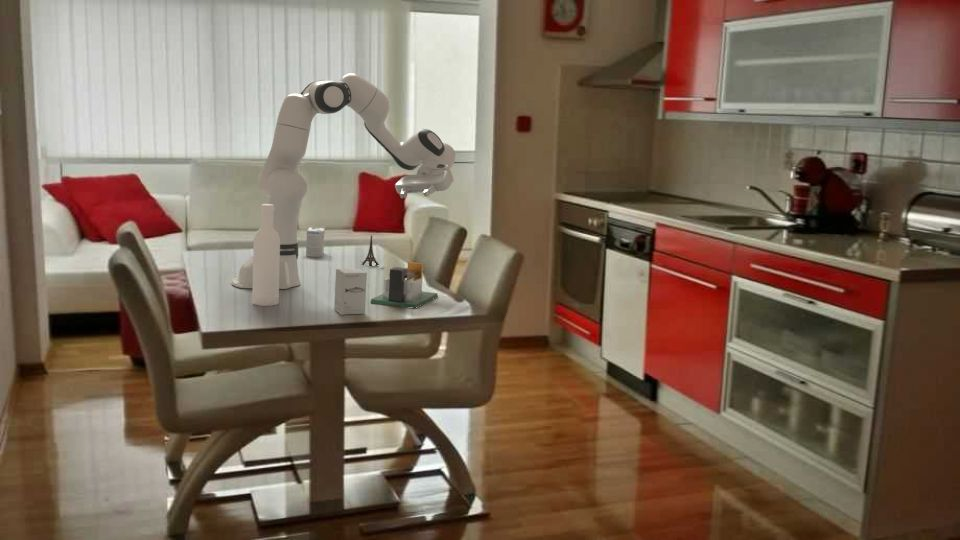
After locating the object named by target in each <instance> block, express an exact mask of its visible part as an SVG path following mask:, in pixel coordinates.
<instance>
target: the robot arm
mask: <svg viewBox="0 0 960 540" xmlns="http://www.w3.org/2000/svg"><path fill="white" fill-rule="evenodd" d="M346 106H347V107H348V108H350V109H351V110H353V111H354V112H355V113H357V114H358V116H360V118H362V120H363V122H364V123H363V125H364V127H365V129H366V131H367V132H368V133H369V134H370V136H372V137H373V139H375V141H376V142H377V143H378V144H379V145H380V146H381V147H382V148H383V149H384V150H385V151H386V152H387V153H388V154H389V155H390V156H391V157H392V159H393V160H394V162H395V163H396V164H397V166H398V167H399V168H402V169H404V170H405V171H414V170H415V169H416V168H417V167H419V166H420V167H419V168H418V169H417V172H416V174H407V175H404V176H402V177H401V178H400V179H399V180H398V181H397V182H396V183H395V184H394V188H395V190H396V193H397V194H399V196H400V199H405V198H407V196H408V195H407V194H415V193H416V194H420V193H423V196H424V197H430V195H432V194H434V193H435V192H441V191H443V192H444V191H446V190H448V189H449V188H450V186H451V185H452V183H453V182H454V176H453V173H452V171H451V168H452V167H453V165H454V163H455V161H456V152H455V149H454V148H453V147H452V145H450V144H449V143H445V142H443V141H442V139H441V138H440V137H439V136H438V134H436V132H434V131H432V130H430V129H428V128H421V129H420V130H419V131H417V132H415V133H414V134H412V136H411V137H409V138H408V139H406V140H405V141H401V140H398V139H397V138H396V136H394V135H393V133H391V131H390V130H389V129H388V128H387V127H386V125H385V123H386V119H387V117H388V114H389V111H390V101H389V98H388V97H387V95H386V94H385V93H384V91H382V90H381V89H379V88H378V87H377V86H375V85H374V84H373V83H372V82H370V81H369V80H367V79H365V78H364V77H361V76H360V75H358V74H356V73H353V72H350V73H349V72H348V73H347V74H345V75H343V76H342V77H341V78H340V79H339V80H337V81H336V80H331V79H329V80H326V79H321V80H316V81H313V82H310V83H309V84H307V85H306V87H304V89H303V90H302V91H301V93H291V94H288V95H286V96H285V97H284V99H283V102H282V103H281V106H280V109H279V112H278V115H277V119H276V125H275V129H274V133H273V139H272V144H271V148H270V150H269V153H268V155H267V158H266V160H265V163H264V166H263V169H262V170H261V172H260V173H259V174H258V176H257V180H256V181H257V188H258V189H259V191H260V192H261V193H262V194H263V195H264V196H265V197H266V198H268V199H269V203H268V204H272V205H274V221H273V228H274V229H275V230H276V231H277V232H278V234H279V238H280V264H279V290H280V289H281V290H287V289H290V288H294V287H297V286H301V279H300V276H299V268H298V258H299V243H298V221H299V215H300V211H301V206H302V203H303V199H304V197H305V196H306V194H307V192H308V183H307V181H306V179H305V178H304V177H303V176H302V175H301V174H300V173H299V172H297V170H298V167H299V165H300V163H301V161H302V159H303V158H304V157H305V155H306V151H307V148H308V142H309V137H310V133H311V126H312V121H313V120H314V117H315V116H316V115H317V114H321V115H330V114H336V113H338V112H340V111H341V110H342V109H344V108H345V107H346ZM231 285H233V286H234V287H236V288H240V289H253V256H251V257H250V258H248V259H247V260H245V261H244V262H243V263H242V264H241V265H240V267H239V271H238V277H234V278H232V279H231Z"/></svg>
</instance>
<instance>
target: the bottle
mask: <svg viewBox="0 0 960 540" xmlns="http://www.w3.org/2000/svg"><path fill="white" fill-rule="evenodd" d="M260 206H261V208H260V212H261V218H260V228H259V229H258V230H256V231H255V233H254V237H253V246H252V247H253V251H252V252H253V288H252V294H251V298H252V299H251V301H252V302H251V304H252V305H255V306H260V307H271V306H273V307H274V306H277V305H279V300H280V289H279V264H280V238H279V234H278V232H277V231H276V230H275V229H274V228H273V221H274V205H272V204H269V203H262V204H261V205H260Z"/></svg>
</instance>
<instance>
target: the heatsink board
mask: <svg viewBox="0 0 960 540" xmlns="http://www.w3.org/2000/svg"><path fill="white" fill-rule="evenodd" d="M407 272H408V268H407V267H400V266H395V267H393V268H390V269H389V277H387V278H385V279H384V280H383V291H382V294H379V295H377V296H375V297H373V298H371V299H370V303H371V304H377V305H386V306H392V305H393V306H394V307H400V306H404V307H403V308H408V307H413V308H412V309H417V308H416V307H418V306H419V307H421V306H423V305H425V304H427V303H429V302H430V300H431V301H433V300H434V299H436V298H437V297H438V295H439V294H438V293H437V292H430V291H423V278H422V279H421V278H420V279H417V280H415V281H414V278H412V277H411V278H409V279H407V278H404V276H405V275H407ZM435 297H436V298H435ZM433 298H434V299H433ZM428 301H429V302H428ZM426 302H427V303H426ZM424 303H425V304H424ZM422 304H423V305H422ZM420 305H421V306H420ZM419 307H418V308H419Z"/></svg>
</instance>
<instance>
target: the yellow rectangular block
mask: <svg viewBox="0 0 960 540" xmlns="http://www.w3.org/2000/svg"><path fill="white" fill-rule="evenodd" d="M406 268H408V272H407V275H405V276H404V278H405V279H406V280H407V279H409V278H411V277H412V278H414V281H415V280H417V279H420V278H421V279H422V280H423V274H424V273H423V272H424V263H422V262H412V261H408V262H407V267H406Z"/></svg>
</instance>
